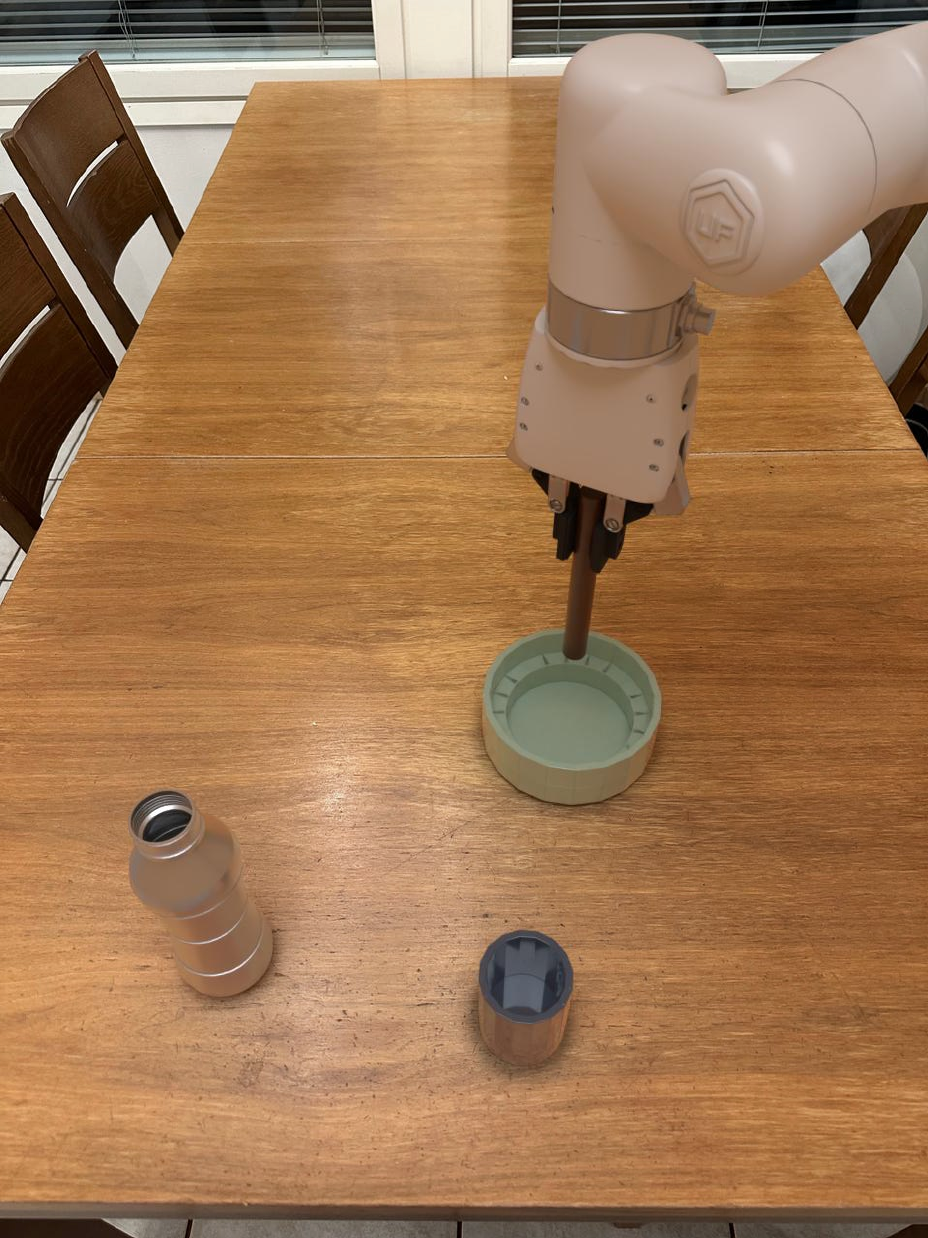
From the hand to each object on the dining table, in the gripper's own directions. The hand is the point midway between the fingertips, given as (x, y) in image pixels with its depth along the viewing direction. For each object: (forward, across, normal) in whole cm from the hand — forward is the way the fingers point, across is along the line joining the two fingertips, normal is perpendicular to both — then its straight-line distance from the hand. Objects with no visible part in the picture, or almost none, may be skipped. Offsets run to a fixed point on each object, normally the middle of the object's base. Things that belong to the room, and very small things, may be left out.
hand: (586, 552), depth 64 cm
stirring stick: (+11, 0, 0) cm, 11 cm away
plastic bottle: (+21, +13, +29) cm, 38 cm away
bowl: (+21, 0, 0) cm, 21 cm away
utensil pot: (+21, -7, +23) cm, 32 cm away
